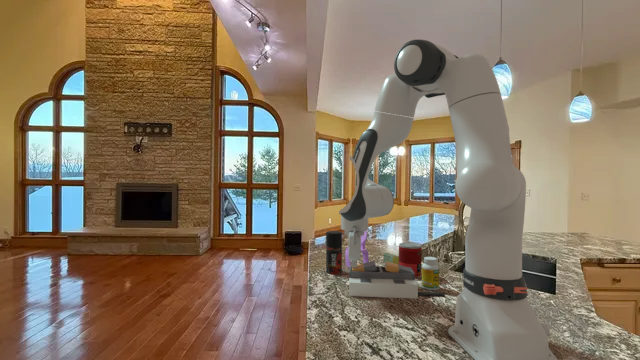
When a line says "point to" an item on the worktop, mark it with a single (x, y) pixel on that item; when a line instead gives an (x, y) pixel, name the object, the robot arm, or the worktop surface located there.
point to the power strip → (385, 284)
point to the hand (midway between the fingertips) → (354, 266)
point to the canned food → (410, 257)
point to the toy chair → (363, 250)
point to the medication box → (391, 258)
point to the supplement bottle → (430, 274)
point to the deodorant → (333, 252)
